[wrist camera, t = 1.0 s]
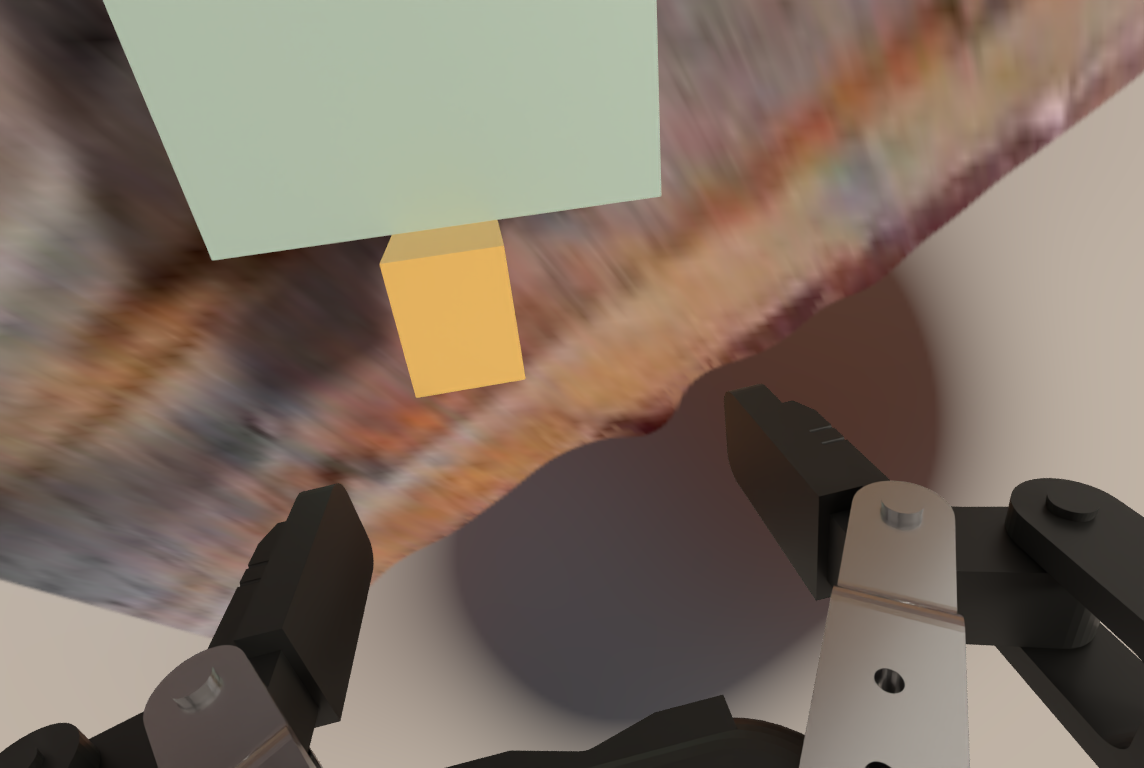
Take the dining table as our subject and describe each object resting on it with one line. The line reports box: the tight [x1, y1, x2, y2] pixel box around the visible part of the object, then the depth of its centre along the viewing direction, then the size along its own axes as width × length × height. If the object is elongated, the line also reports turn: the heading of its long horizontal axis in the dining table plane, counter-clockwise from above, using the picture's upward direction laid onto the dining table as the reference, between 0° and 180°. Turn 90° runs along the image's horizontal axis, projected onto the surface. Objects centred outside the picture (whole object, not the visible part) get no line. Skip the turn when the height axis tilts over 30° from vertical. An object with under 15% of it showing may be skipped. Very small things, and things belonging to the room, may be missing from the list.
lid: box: [103, 0, 661, 398], centre depth 19 cm, size 17×18×6 cm
